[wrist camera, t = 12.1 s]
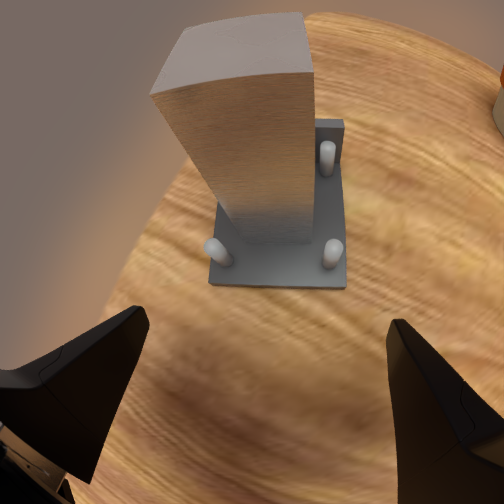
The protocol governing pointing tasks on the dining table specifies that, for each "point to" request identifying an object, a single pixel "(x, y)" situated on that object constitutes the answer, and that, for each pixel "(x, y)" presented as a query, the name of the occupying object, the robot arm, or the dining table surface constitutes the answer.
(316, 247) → the drive dock
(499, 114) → the reusable coffee cup
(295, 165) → the silver tall square block
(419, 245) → the dining table surface
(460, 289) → the dining table surface
